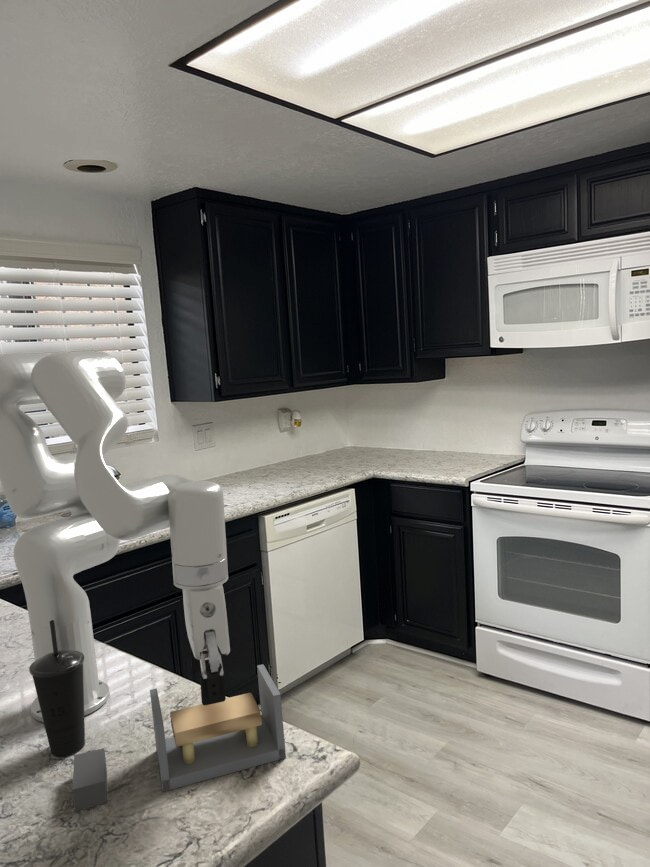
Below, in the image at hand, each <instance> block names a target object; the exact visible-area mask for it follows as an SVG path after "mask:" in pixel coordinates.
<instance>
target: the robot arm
mask: <svg viewBox="0 0 650 867" xmlns="http://www.w3.org/2000/svg"><path fill="white" fill-rule="evenodd" d="M126 382H127V380H126V373H125V370H124V369H123V366H122V364H121V363H120V361H118V360H117V359H116V357H114V355H111V354H110V353H108V352H105V351H101V350H97V351H96V350H95V351H92V350H91V351H64V352H62V351H61V352H39V353H6V354H0V483H1V486H2V490H3V493H4V497H5V499H6V502H7V504H8V507H9V509H10V510H11V512H12V513H13V514H14V515H15V516H16V517H19V518H21V519H34V518H39V517H43V516H47V515H51V514H55V513H58V512H62V511H65V510H69V511H70V514H71V516H68V517H64V518H63V517H62V518H59V519H56V520H52V521H49V522H46V523H42V524H40V525H37V526H34V527H32V528H30V529H28V530H26V531H25V532H24V533H23V534H21V535H20V536H19V537H18V538H17V540H16V542H15V544H14V547H13V559H14V562H15V567H16V570H17V572H18V575H19V578H20V581H21V583H22V587H23V592H24V596H25V601H26V605H27V606H26V608H27V612H28V621H29V626H30V633H31V640H32V642H31V643H32V648H33V658H34V661H36V660H37V659H39V658H41V657H43V656H45V655H47V654H49V653H51V652H53V646H52V638H51V630H50V622H49V621H51V620H54V622H55V630H56V637H57V645H58V651H60V650H72V651H79V652H81V653H83V654H84V658H85V659H84V662H83V685H84V717H85V716H87V715H91V713H94V712H95V711H96V710H99V709H100V708H101V707H102V706H103V705H105V704H106V702H108V699H109V698H110V693H111V692H110V687H109V685H108V684H107V683H106V682H105V681H102V680H99V673H98V664H97V663H98V662H97V655H96V648H95V638H94V632H93V622H92V613H91V608H90V600H89V597H88V595H87V592H86V591H85V590H84V589H83V588H82V587H81V586H80V584H78V582H77V581H76V580H75V579H74V575H76V574H78V573H81V572H82V571H85V570H88V569H91V568H94V567H95V566H99V565H101V564H104V563H106V562H108V561H110V560H111V559H112V558H114V557H115V556H116V554H117V553H118V550H119V548H120V542H121V541H131V540H132V541H133V540H135V539H138V538H141V537H144V536H146V535H149V534H152V533H155V532H158V531H161V530H164V529H168V528H169V534H170V535H169V537H170V548H171V550H170V551H171V561H172V562H171V563H172V576H173V586H175V587H176V588H178V589H180V590H182V597H183V598H182V600H183V601H182V602H183V610H184V621H185V622H184V623H185V627H186V628H185V629H186V632H187V638H188V641H189V644H190V646H189V650H190V651H189V652H190V663H191V664H190V665H191V671H192V673H197V672H201V675H200V676H199V681H200V695H201V696H200V698H201V704H203V705H210V704H214V703H219V702H223V701H225V699H226V681H225V680H226V679H225V672H224V667H223V661H222V655H225V656H228V655H229V654H230V652H231V647H230V636H229V635H230V634H229V625H228V624H229V623H228V616H227V615H228V614H227V608H226V607H227V606H226V605H227V604H226V599H225V598H226V597H225V593H224V592H225V591H224V587H223V584H224V583H226V582H227V581H228V580H229V571H228V570H229V569H228V567H229V565H228V553H227V552H228V551H227V536H226V519H225V500H224V492H223V488H222V487H221V485H219V484H218V483H216V482H214V481H209V480H193V479H191V478H188V477H186V476H185V477H184V476H181V475H178V474H172V473H171V474H169V473H168V474H163V475H158V476H154V477H151V478H145V479H142V480H141V479H140V480H137V481H133V482H130V483H126V484H123V485H122V484H121V482H119V480H118V479H117V477H115V475H114V474H113V472H112V471H111V470H110V468H109V467H108V465H107V463H106V461H105V459H104V455H105V454H106V453H108V452H109V451H110V450H112V449H113V448H114V447H115V446H116V445H117V444H118V443H119V442H120V441H121V440H122V439H123V437H124V436H125V434H126V432H127V431H128V428H129V419H128V416H127V415H126V413H125V412H124V411H123V410H122V409H121V407H120V406H119V405H118V404H117V402H116V401H115V400H117V399H118V398H120V397H121V395H122V394H123V393H124V391H125V388H126ZM37 404H38V405H39V404H44V405H45V407H46V408H47V409H48V411H49V412H50V413H51V414H52V416H53V417H54V418H55V419H56V421H57V422H58V424H59V425H60V427H61V428H62V429H63V430H64V432H65V433H66V435H67V436H68V437H69V439H70V440H71V441H72V443H73V444H74V445H75V447H76V452H75V453H66V454H61V455H55V456H54V455H52V453H51V452H50V450H49V447H48V444H47V441H46V440H47V439H46V436H45V434H44V432H43V430H42V429H41V427H40V426H39V425H38V424H37V422H35V421H34V419H33V418H32V417H30V416H29V415H28V414H27V413H25V412H23V411H22V410H21V409H20V407H21V406H26V405H27V406H28V405H37ZM30 714H31V716H32V718H33V719H35V720H36V721H38V722H41V723H44V721H43V717H42V713H41V709H40V705H39V701H38V697H37V696H36V697H35V698H34V700H33V701H32V702H31V705H30Z"/></svg>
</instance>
